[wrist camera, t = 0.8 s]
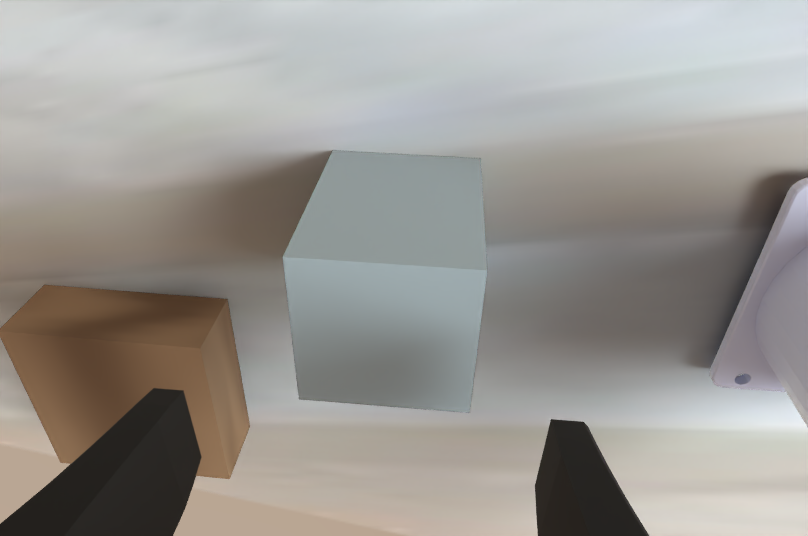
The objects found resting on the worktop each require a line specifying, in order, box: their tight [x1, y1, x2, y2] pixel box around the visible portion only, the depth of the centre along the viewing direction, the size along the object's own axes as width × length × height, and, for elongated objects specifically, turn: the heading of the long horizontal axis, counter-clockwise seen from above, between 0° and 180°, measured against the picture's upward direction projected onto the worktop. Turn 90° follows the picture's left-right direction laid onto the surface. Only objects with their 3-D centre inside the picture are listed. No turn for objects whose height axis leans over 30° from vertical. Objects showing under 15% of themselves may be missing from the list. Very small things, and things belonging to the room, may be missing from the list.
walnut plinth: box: [0, 285, 250, 479], centre depth 23 cm, size 7×7×3 cm
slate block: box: [283, 150, 487, 413], centre depth 16 cm, size 4×4×6 cm
